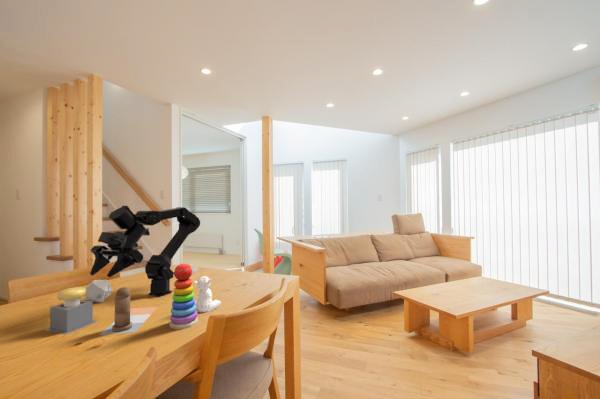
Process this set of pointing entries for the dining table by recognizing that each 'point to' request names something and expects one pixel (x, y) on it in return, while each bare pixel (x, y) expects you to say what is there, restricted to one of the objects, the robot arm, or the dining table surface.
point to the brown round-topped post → (122, 310)
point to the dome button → (71, 296)
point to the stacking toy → (183, 299)
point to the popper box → (70, 317)
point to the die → (98, 291)
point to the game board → (133, 320)
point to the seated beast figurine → (205, 296)
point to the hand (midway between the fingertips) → (99, 275)
